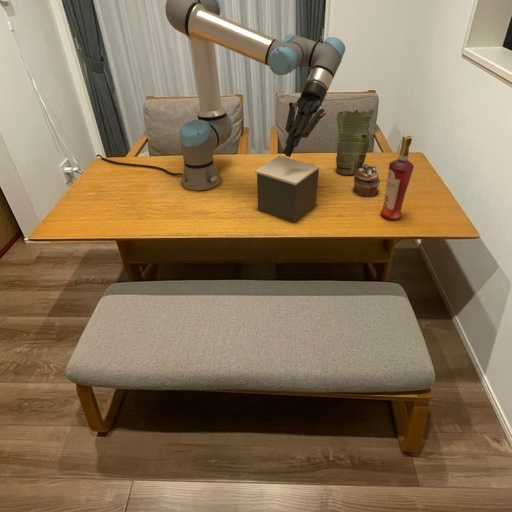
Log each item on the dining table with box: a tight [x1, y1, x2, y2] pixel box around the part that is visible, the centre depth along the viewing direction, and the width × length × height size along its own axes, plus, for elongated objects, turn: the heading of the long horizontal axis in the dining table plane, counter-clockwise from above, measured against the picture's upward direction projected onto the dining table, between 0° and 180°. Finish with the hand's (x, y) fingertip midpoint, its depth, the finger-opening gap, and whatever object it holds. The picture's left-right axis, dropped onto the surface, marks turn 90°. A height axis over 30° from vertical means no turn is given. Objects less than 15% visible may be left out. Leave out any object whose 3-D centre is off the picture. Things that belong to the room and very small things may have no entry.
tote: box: [256, 168, 320, 224], centre depth 136 cm, size 16×15×14 cm
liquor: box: [380, 135, 415, 220], centre depth 125 cm, size 7×7×28 cm
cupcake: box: [353, 163, 381, 197], centre depth 145 cm, size 10×10×10 cm
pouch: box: [335, 109, 376, 176], centre depth 155 cm, size 11×12×25 cm
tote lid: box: [254, 155, 320, 185], centre depth 131 cm, size 16×15×1 cm
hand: (286, 154), depth 123 cm, fingers closed
